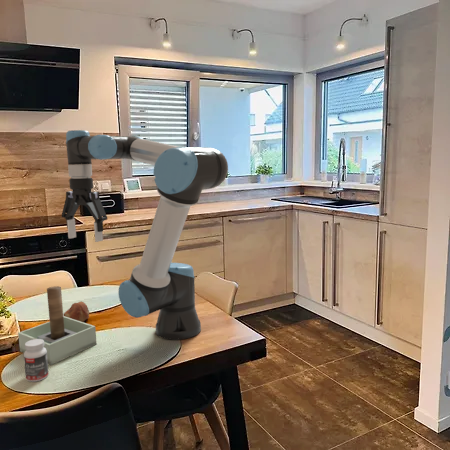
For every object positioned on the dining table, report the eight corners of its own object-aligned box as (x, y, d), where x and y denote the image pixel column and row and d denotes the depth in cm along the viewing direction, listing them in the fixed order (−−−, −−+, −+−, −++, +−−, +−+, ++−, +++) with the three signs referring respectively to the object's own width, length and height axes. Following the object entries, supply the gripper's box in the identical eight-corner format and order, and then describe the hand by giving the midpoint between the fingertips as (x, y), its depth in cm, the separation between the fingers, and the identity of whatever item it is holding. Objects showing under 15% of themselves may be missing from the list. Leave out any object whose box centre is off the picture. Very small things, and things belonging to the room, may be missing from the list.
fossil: (68, 321, 144) (66, 293, 149) (53, 328, 148) (52, 301, 152) (98, 323, 154) (96, 297, 159) (83, 330, 158) (82, 304, 162)
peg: (68, 343, 133) (63, 287, 130) (56, 348, 130) (51, 291, 127) (60, 340, 135) (55, 285, 132) (49, 345, 132) (44, 288, 129)
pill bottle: (25, 384, 112) (21, 348, 110) (26, 374, 117) (22, 340, 115) (49, 379, 114) (46, 344, 112) (48, 370, 119) (45, 336, 117)
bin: (96, 344, 135) (95, 326, 134) (50, 364, 122) (49, 345, 121) (65, 333, 144) (64, 316, 143) (20, 351, 131) (18, 332, 130)
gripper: (115, 177, 140) (119, 240, 143) (66, 176, 153) (70, 234, 157) (97, 178, 134) (102, 244, 137) (47, 177, 147) (52, 238, 150)
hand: (85, 239), depth 147 cm, fingers open, 13 cm apart
